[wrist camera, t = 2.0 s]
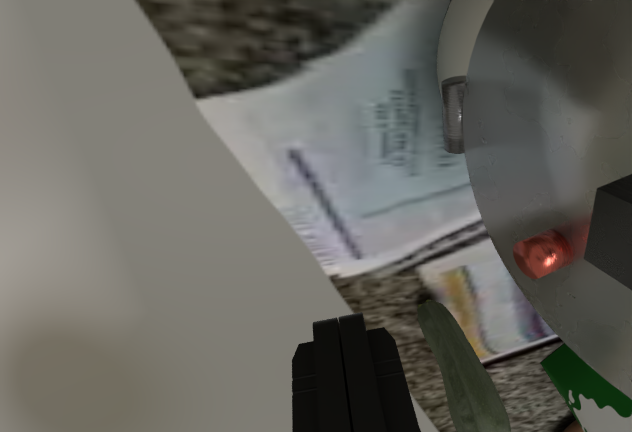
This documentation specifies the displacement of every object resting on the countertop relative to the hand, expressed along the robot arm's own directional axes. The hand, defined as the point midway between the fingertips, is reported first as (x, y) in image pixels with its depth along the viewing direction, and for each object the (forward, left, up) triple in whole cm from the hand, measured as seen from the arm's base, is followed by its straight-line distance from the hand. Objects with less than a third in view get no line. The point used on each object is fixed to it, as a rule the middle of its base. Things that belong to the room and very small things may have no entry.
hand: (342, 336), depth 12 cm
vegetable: (+24, +8, -23) cm, 34 cm away
